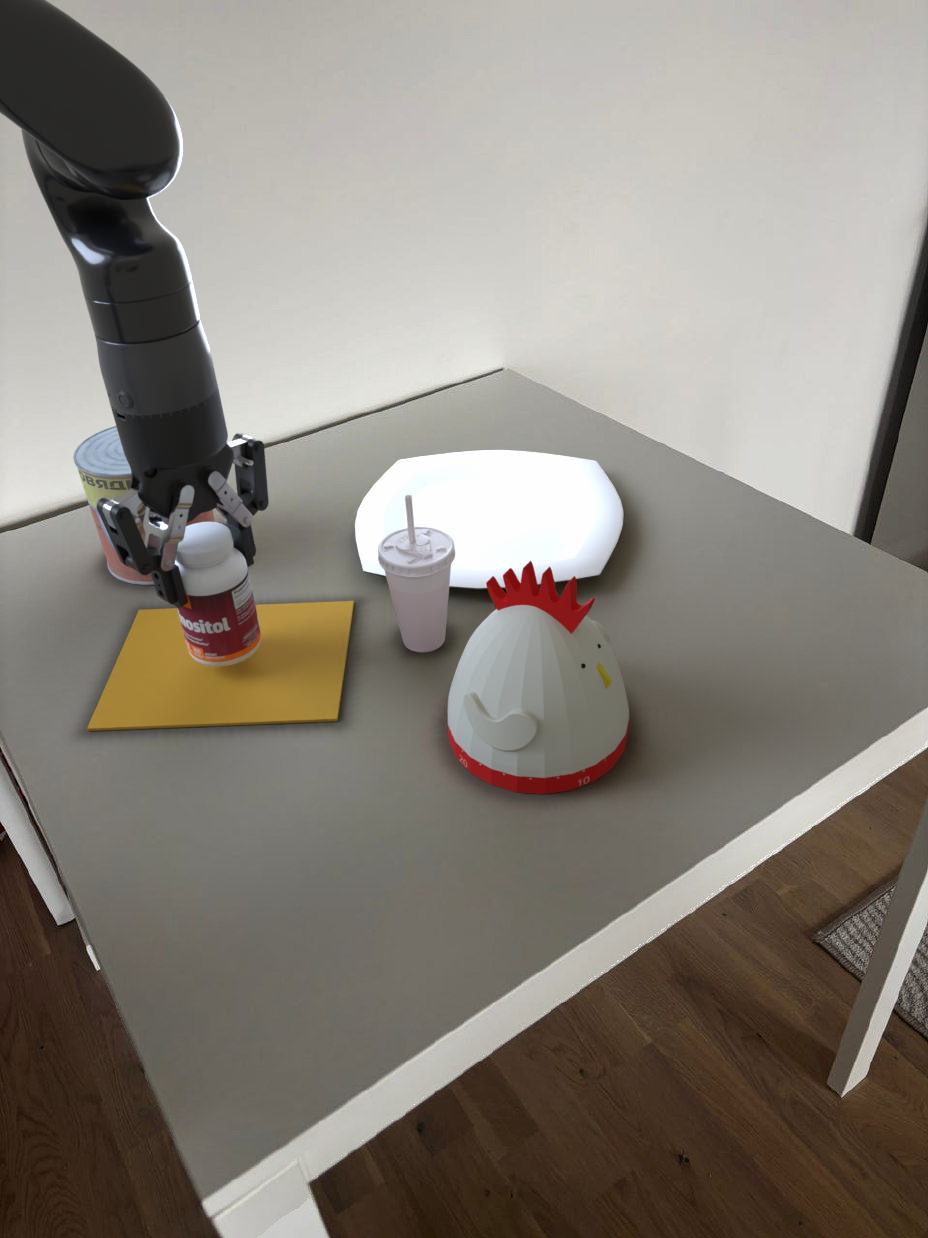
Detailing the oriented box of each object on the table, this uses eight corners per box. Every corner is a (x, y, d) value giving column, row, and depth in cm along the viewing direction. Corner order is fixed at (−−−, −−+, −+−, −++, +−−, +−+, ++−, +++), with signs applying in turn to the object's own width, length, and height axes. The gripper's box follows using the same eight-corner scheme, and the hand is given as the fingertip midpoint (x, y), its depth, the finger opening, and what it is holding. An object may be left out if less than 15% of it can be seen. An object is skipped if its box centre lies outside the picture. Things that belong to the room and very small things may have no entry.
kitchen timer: (576, 821, 68) (582, 653, 59) (413, 752, 74) (396, 591, 65) (656, 704, 77) (671, 543, 68) (505, 651, 83) (501, 498, 74)
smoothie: (435, 608, 88) (425, 472, 80) (474, 643, 84) (468, 503, 76) (374, 634, 86) (357, 495, 77) (411, 672, 81) (397, 529, 73)
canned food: (90, 584, 94) (53, 474, 87) (131, 524, 103) (100, 419, 96) (202, 585, 93) (174, 474, 86) (234, 524, 102) (211, 419, 95)
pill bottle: (175, 663, 81) (143, 552, 74) (212, 620, 86) (185, 511, 79) (241, 675, 79) (215, 562, 73) (275, 630, 84) (253, 521, 77)
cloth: (87, 731, 77) (86, 728, 77) (139, 612, 90) (138, 609, 90) (337, 721, 77) (337, 718, 77) (354, 603, 90) (353, 600, 90)
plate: (380, 464, 111) (379, 448, 110) (618, 465, 109) (619, 449, 107) (333, 601, 90) (331, 584, 89) (627, 607, 87) (629, 589, 86)
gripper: (210, 344, 75) (248, 530, 85) (42, 411, 66) (107, 609, 76) (275, 365, 71) (307, 558, 81) (106, 439, 62) (165, 644, 72)
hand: (210, 582), depth 78 cm, fingers closed on pill bottle, 6 cm apart
